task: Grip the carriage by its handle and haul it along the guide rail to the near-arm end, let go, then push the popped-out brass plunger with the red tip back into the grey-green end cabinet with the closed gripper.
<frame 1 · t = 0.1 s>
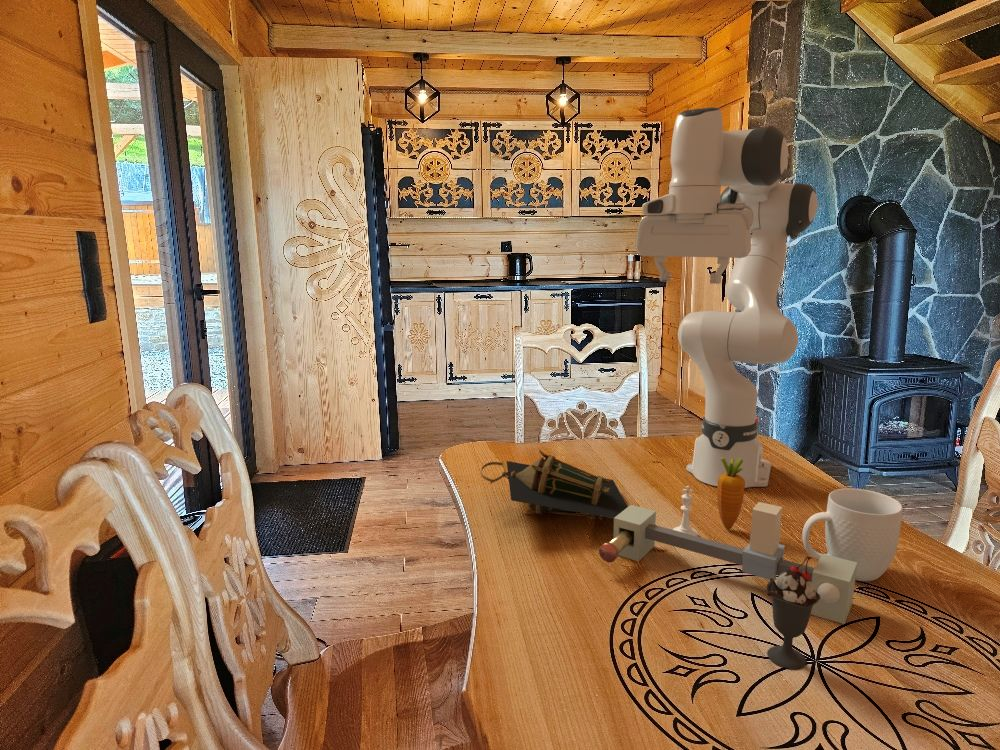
hand: (689, 282, 121), 48 cm above the table, fingers open, 8 cm apart
chess piece: (684, 536, 127), on the table
sundae: (786, 658, 91), on the table
mug: (849, 572, 114), on the table
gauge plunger: (620, 542, 116), point 4 cm above the table, slide at 0.0 cm
carrot: (727, 530, 129), on the table
carriage: (764, 539, 107), point 9 cm above the table, slide at 0.0 cm
guide rail: (723, 576, 112), on the table
lantern: (552, 514, 138), on the table
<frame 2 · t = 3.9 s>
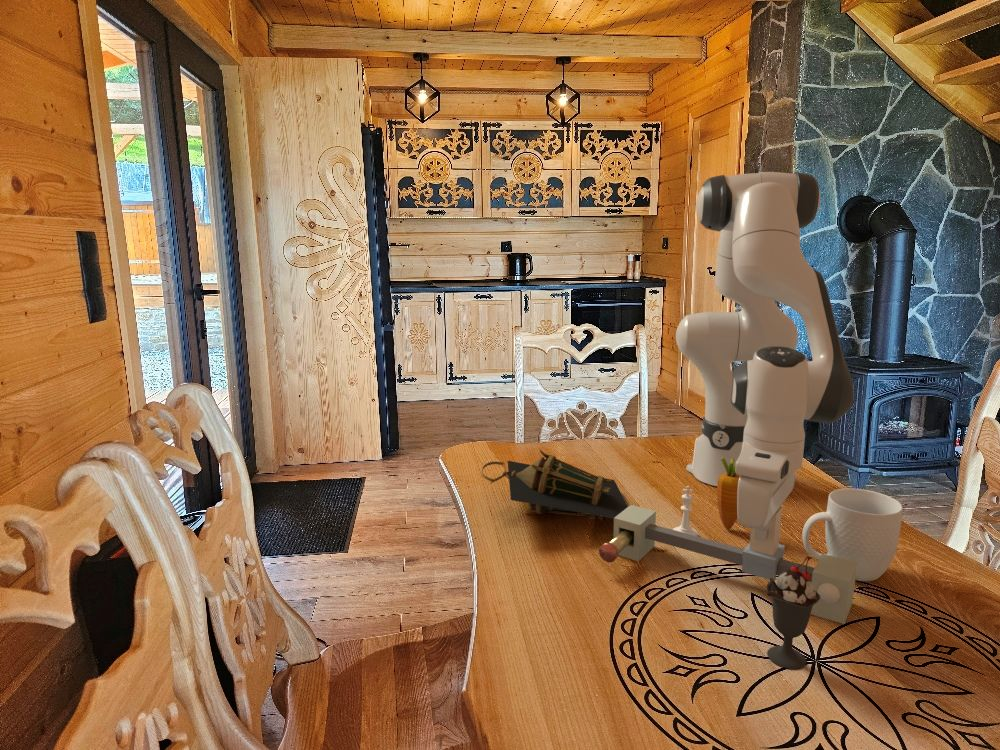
hand: (765, 533, 107), 10 cm above the table, fingers closed on carriage, 4 cm apart
carriage: (764, 539, 107), point 9 cm above the table, slide at 0.0 cm, touching gripper
everything else where it was.
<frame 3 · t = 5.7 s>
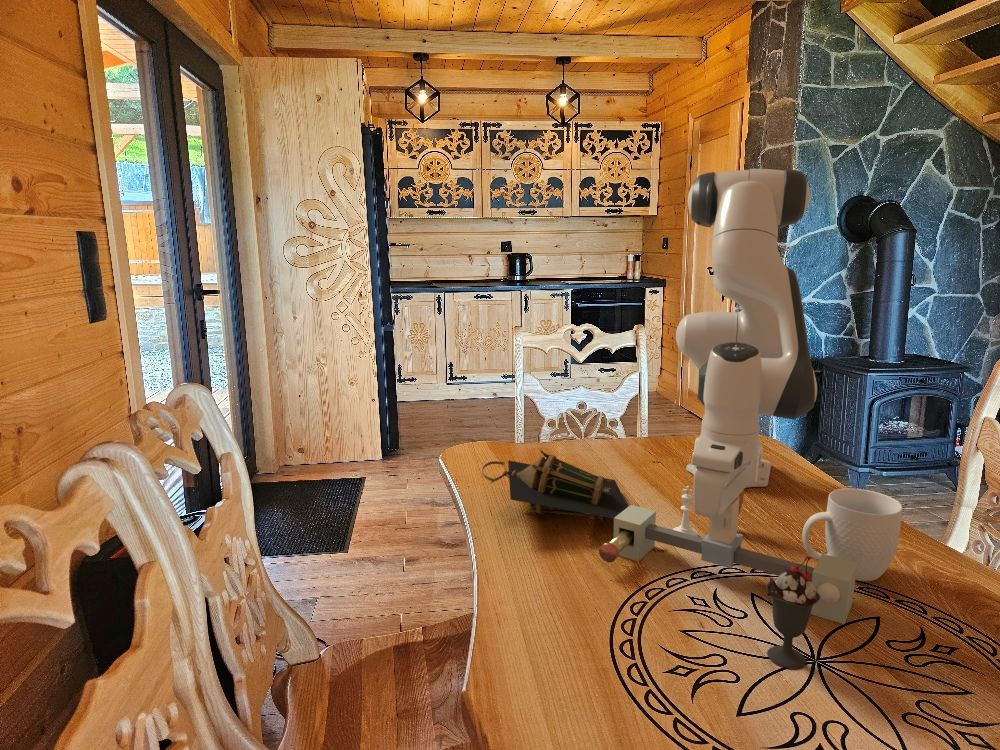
hand: (723, 523, 111), 10 cm above the table, fingers closed on carriage, 4 cm apart
carriage: (723, 528, 111), point 9 cm above the table, slide at 6.7 cm, touching gripper
everything else where it was.
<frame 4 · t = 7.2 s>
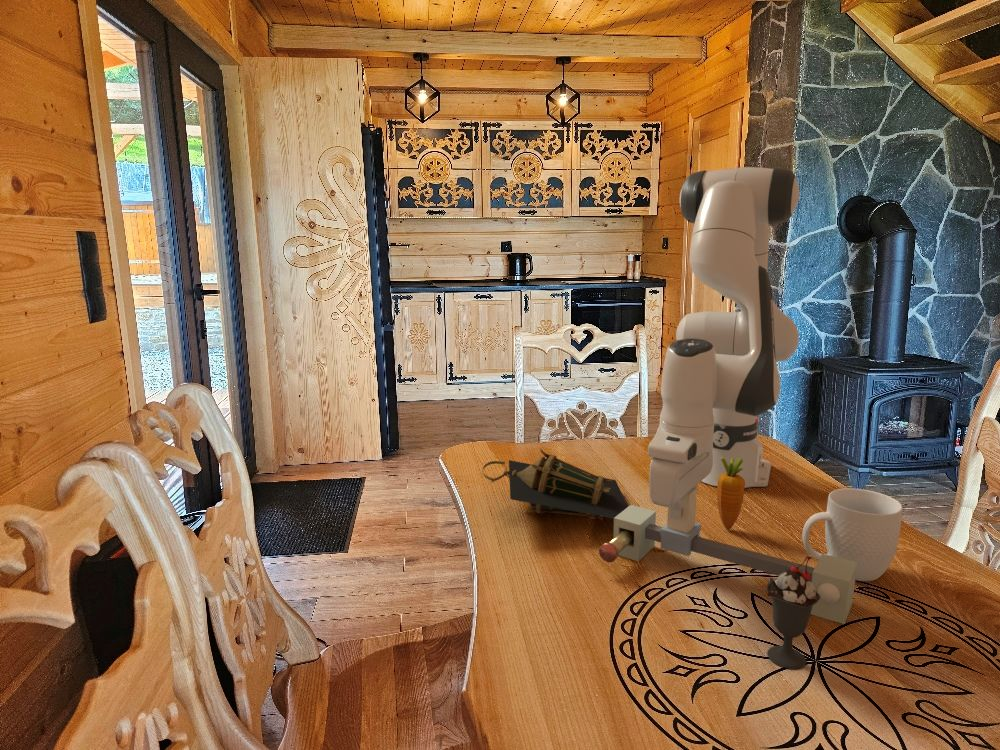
hand: (681, 512, 115), 10 cm above the table, fingers closed on carriage, 4 cm apart
carriage: (681, 518, 115), point 9 cm above the table, slide at 13.9 cm, touching gripper
everything else where it was.
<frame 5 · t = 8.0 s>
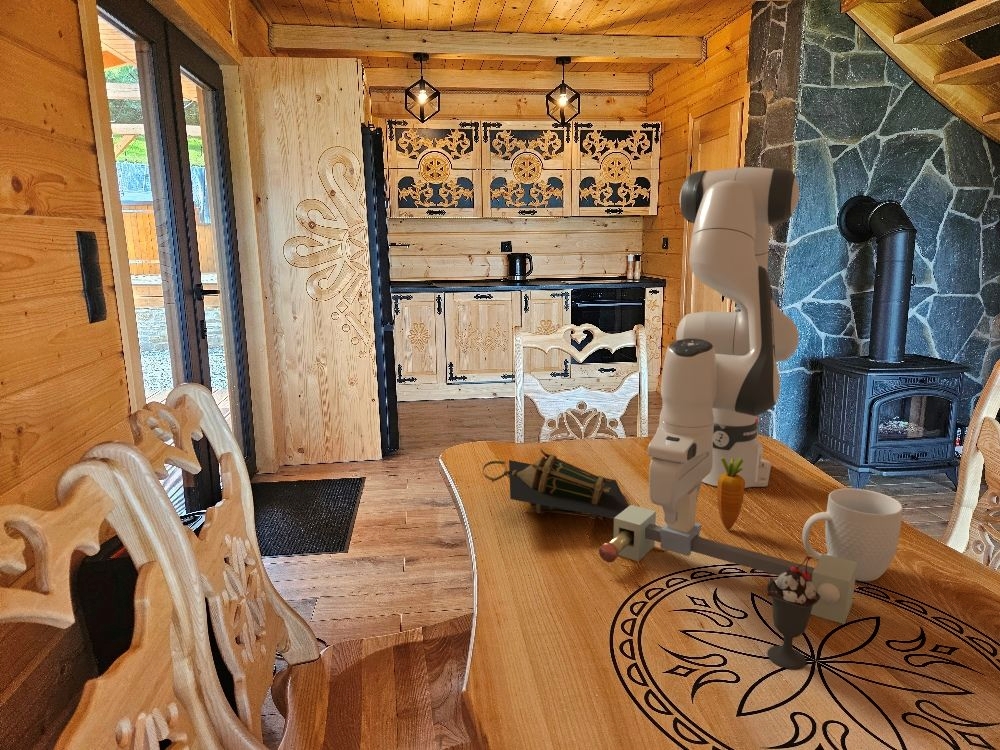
hand: (681, 512, 115), 10 cm above the table, fingers open, 8 cm apart
carriage: (681, 518, 115), point 9 cm above the table, slide at 13.9 cm
everything else where it was.
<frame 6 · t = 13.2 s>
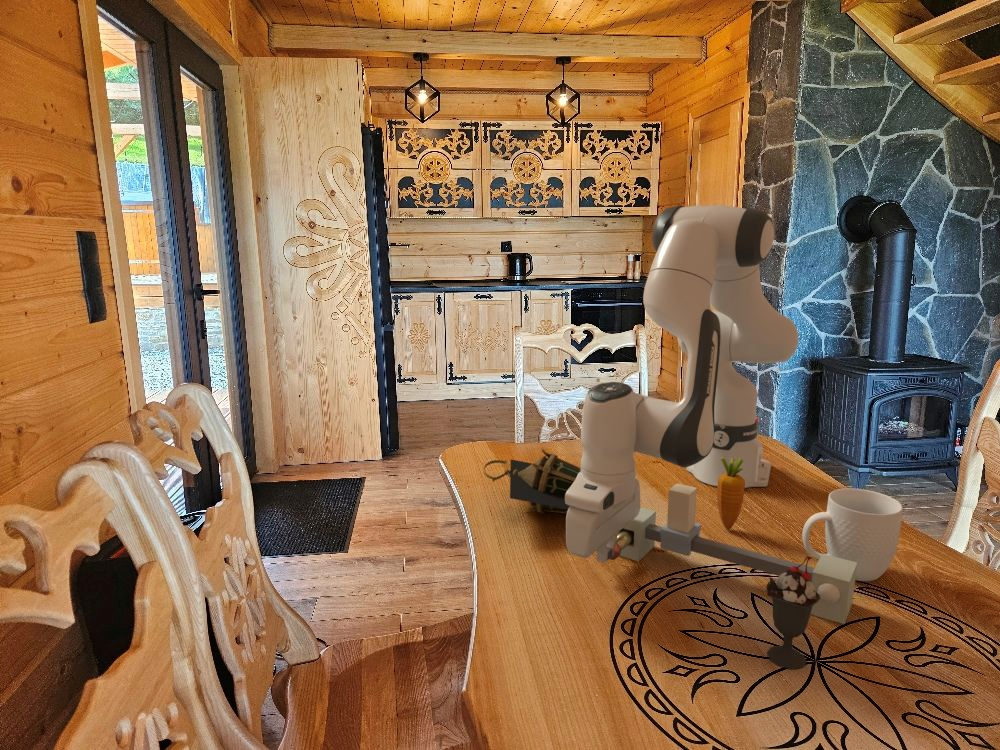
hand: (605, 558, 112), 3 cm above the table, fingers closed
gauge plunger: (622, 540, 117), point 4 cm above the table, slide at 1.0 cm, touching gripper
everything else where it was.
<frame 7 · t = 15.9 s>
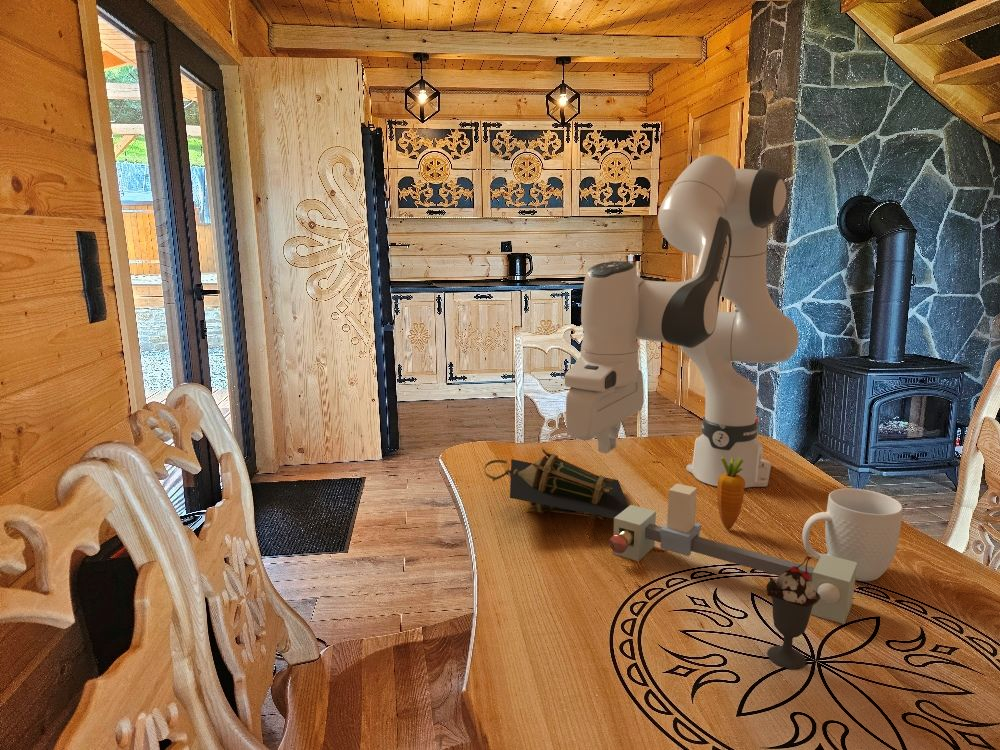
hand: (607, 450, 107), 23 cm above the table, fingers closed
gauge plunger: (629, 534, 119), point 4 cm above the table, slide at 3.9 cm
everything else where it was.
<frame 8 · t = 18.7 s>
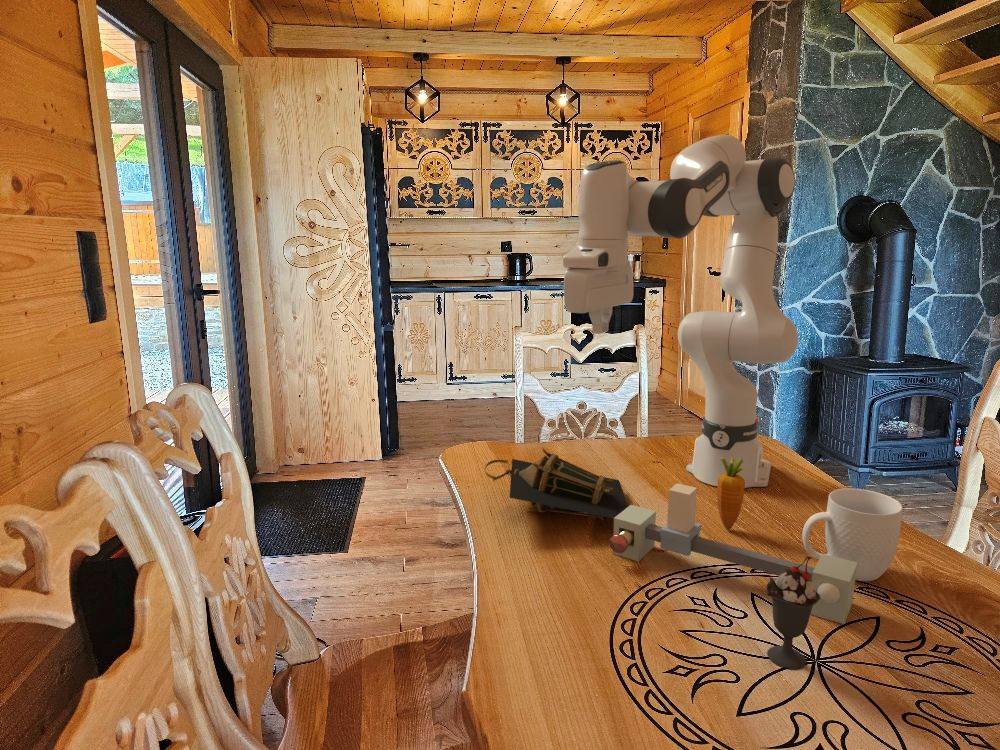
hand: (600, 332, 121), 39 cm above the table, fingers closed
nothing on the table moved.
at the end: carriage slide at 13.9 cm; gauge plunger slide at 3.9 cm; the gripper is holding nothing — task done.
